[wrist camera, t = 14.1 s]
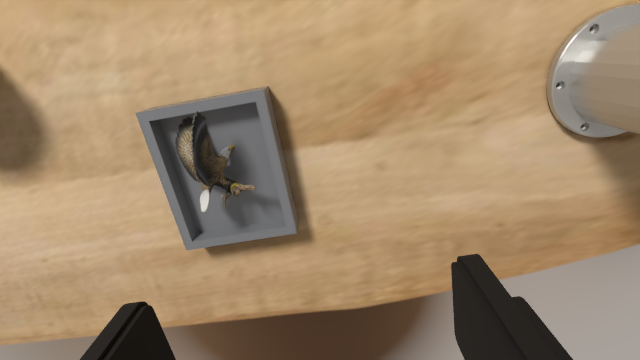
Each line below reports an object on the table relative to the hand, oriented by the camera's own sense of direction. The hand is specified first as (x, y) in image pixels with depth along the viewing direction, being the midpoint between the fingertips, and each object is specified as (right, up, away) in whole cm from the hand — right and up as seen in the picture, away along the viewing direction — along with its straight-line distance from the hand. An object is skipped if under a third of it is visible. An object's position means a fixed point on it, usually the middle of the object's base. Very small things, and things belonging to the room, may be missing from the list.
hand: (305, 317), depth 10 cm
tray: (-10, +6, +28) cm, 31 cm away
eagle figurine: (-11, +7, +27) cm, 30 cm away
